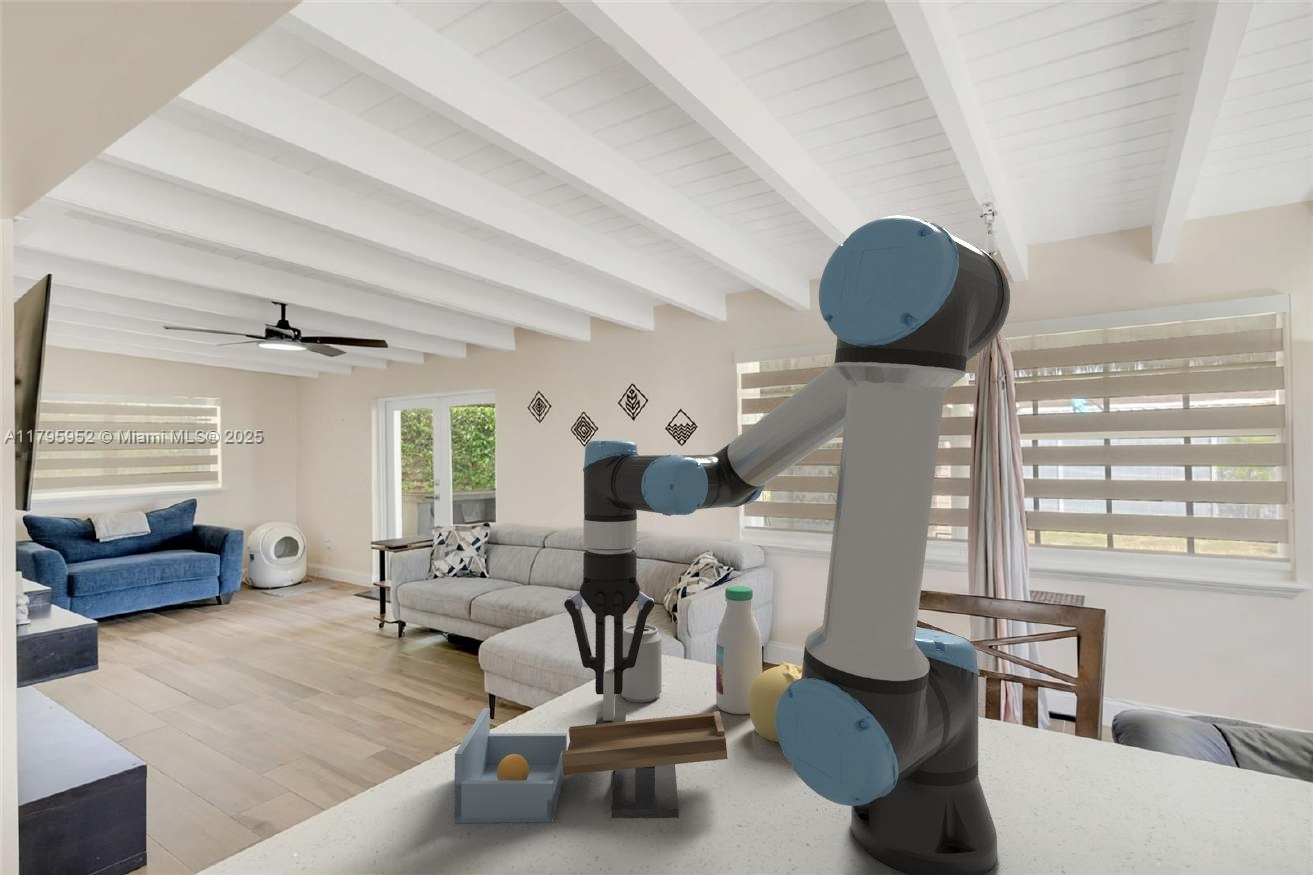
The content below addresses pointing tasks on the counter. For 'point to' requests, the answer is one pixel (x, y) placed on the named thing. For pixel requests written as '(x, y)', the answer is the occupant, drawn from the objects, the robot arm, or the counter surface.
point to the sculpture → (770, 697)
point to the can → (643, 666)
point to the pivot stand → (645, 793)
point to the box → (507, 799)
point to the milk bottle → (737, 652)
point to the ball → (513, 768)
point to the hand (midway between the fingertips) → (609, 716)
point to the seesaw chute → (644, 742)
